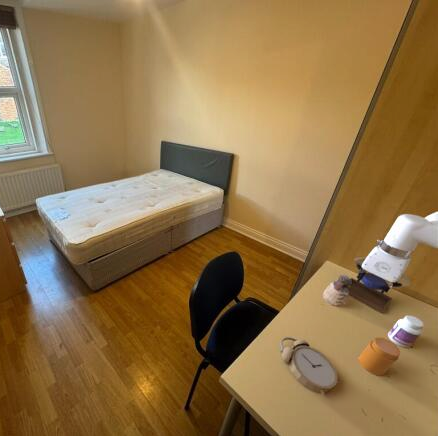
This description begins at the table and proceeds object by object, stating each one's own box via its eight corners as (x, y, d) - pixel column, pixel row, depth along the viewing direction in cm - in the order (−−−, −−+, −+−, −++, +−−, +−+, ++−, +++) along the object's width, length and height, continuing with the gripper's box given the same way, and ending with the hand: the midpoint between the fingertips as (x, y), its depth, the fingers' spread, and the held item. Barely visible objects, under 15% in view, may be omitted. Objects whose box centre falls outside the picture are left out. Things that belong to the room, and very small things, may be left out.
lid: (357, 281, 88) (360, 277, 87) (364, 274, 92) (367, 270, 90) (380, 293, 84) (383, 288, 82) (386, 285, 87) (389, 280, 86)
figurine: (349, 304, 88) (363, 281, 82) (336, 309, 86) (349, 286, 80) (330, 290, 93) (343, 268, 87) (318, 295, 91) (329, 272, 85)
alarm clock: (322, 398, 59) (275, 342, 69) (312, 403, 62) (268, 349, 72) (347, 376, 63) (299, 327, 73) (337, 382, 66) (292, 334, 76)
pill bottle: (414, 348, 73) (433, 329, 68) (397, 347, 73) (414, 328, 68) (398, 332, 78) (414, 313, 73) (382, 332, 78) (397, 313, 73)
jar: (387, 367, 68) (405, 349, 63) (380, 380, 65) (398, 361, 60) (362, 351, 72) (377, 332, 68) (354, 362, 69) (369, 343, 65)
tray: (390, 302, 88) (393, 298, 87) (381, 313, 84) (384, 309, 83) (349, 281, 98) (351, 277, 97) (340, 290, 93) (342, 286, 92)
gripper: (360, 240, 84) (340, 276, 93) (428, 267, 71) (397, 306, 80) (368, 233, 87) (347, 269, 96) (434, 258, 75) (404, 296, 84)
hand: (370, 285), depth 88 cm, fingers closed on lid, 6 cm apart
